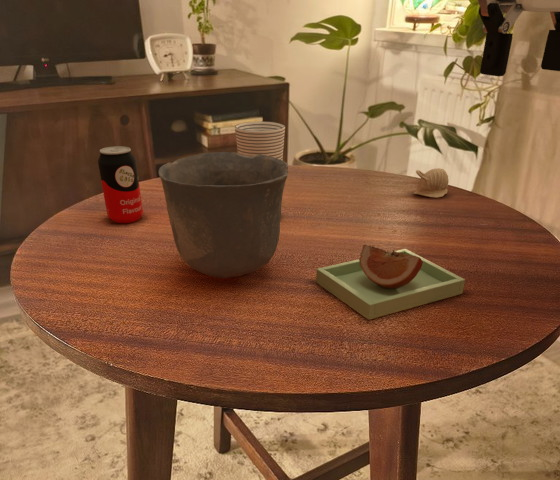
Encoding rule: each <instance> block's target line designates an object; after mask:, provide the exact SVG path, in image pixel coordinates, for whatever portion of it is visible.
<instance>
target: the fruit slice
mask: <svg viewBox="0 0 560 480" xmlns="http://www.w3.org/2000/svg"><path fill="white" fill-rule="evenodd" d="M396 251H397V250H395V249H393V250H392V251H388V250H387V251H386V250H385V249H383V248H379V247H375V246H371V245H367V244H363V245H362V249H361V252H360V254H359V256H360V257H359V258H358V259H359V261H360V266H361V268H362V270H363V272H364V273H365V275H366V276H367V277H368V278H369V279H370V280H371V281H372V282H374V283H375V284H377V285H379V286H381V287H384V288H389V289H393V288H399V287H402V286H404V285H406V284H408V283H409V282H410V281H412V280H413V279H414V278H415V277H416V275H417V274H418V272H419V271H420V269H421V267H422V264H423V261H422V260H421V258H420V257H417V256H413V255H408V254H403V253H401V252H396Z"/></svg>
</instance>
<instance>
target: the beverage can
mask: <svg viewBox="0 0 560 480" xmlns="http://www.w3.org/2000/svg"><path fill="white" fill-rule="evenodd" d="M131 150H132V149H131V148H130V147H128V146H122V145H117V146H114V145H113V146H107V147H103V148H101V149H99V156H98V160H97V164H98V169H99V176H100V177H99V178H100V181H101V188H102V193H103V197H104V198H103V200H104V204H105V210H106V215H107V217H108V218H109V219H110V220H112V221H113V222H114V223H117V224H131V223H135V222H137V221H139V220H140V218H141V217H142V216H143V214H144V209H143V202H142V194H141V193H142V192H141V187H140V180H139V174H138V166H137V160H136V157H135V156H134V154H133V153H132V151H131Z"/></svg>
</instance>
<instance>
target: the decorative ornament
mask: <svg viewBox="0 0 560 480" xmlns="http://www.w3.org/2000/svg"><path fill="white" fill-rule="evenodd" d="M415 174H416V175H417V176H418V177H419V178H420V179H419V181H418V184H417V188H416V190H415V191H414V192H413V194H412V195H420V196H423V197H428V198H434V199H438V198H443V197H445V195H447V193H448V192H449V190H448V187H449V180H450V179H449V174H448V173H447V171H446V170H445V169H443V168H440V167H437V168H432V169H429V170H427V171H426V172H422V171H421V170H419V169H416V170H415Z"/></svg>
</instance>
